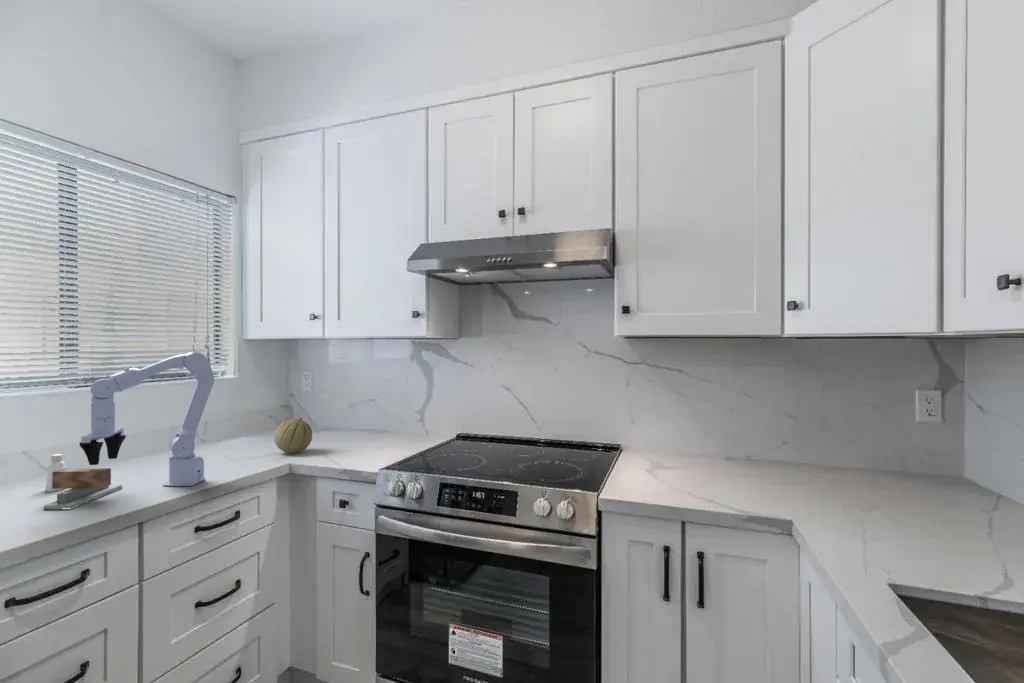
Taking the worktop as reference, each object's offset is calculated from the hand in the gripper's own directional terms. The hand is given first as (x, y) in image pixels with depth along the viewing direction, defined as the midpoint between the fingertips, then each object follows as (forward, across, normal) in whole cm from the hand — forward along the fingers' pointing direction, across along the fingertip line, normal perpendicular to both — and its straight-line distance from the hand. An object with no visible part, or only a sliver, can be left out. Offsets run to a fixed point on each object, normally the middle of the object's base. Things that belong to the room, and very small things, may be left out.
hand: (103, 461), depth 153 cm
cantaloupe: (+11, -56, +37) cm, 68 cm away
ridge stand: (+10, +4, -3) cm, 11 cm away
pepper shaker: (+10, -7, -20) cm, 23 cm away
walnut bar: (+6, +5, -2) cm, 8 cm away
